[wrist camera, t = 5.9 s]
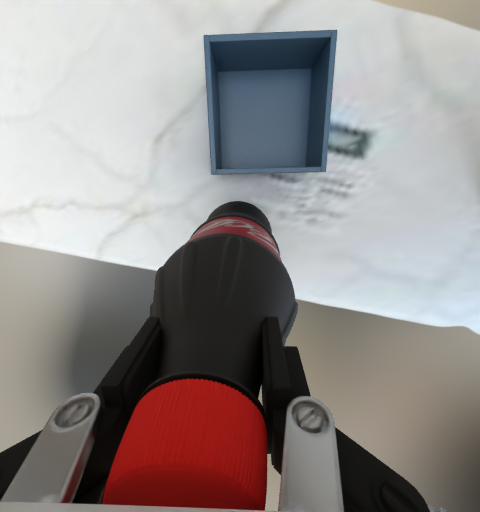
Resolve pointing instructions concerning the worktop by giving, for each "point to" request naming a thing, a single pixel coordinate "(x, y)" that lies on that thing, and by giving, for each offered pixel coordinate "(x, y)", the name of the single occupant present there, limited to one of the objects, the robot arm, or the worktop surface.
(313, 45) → the case
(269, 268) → the cola bottle
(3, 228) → the worktop surface
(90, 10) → the worktop surface
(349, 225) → the worktop surface
